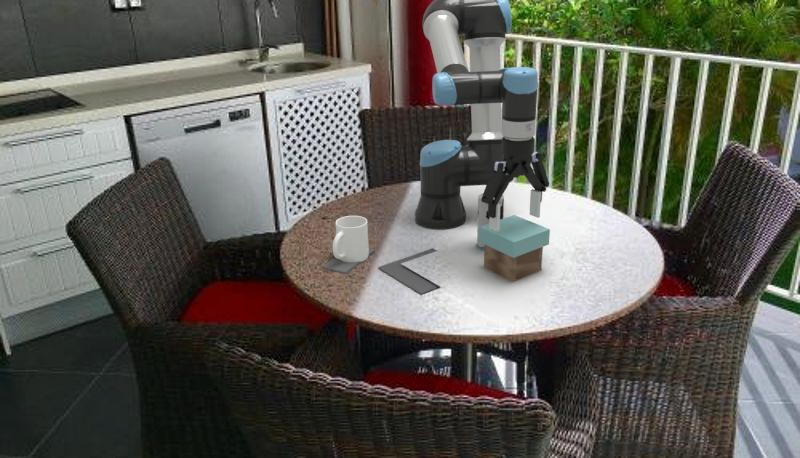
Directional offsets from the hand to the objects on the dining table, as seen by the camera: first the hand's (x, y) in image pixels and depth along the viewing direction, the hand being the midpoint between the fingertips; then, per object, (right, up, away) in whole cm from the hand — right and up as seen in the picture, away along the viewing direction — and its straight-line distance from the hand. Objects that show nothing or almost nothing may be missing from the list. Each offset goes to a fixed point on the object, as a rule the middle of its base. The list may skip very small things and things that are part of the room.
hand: (514, 222), depth 164 cm
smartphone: (-41, -10, +15) cm, 45 cm away
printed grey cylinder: (-4, -7, +19) cm, 20 cm away
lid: (0, -6, +3) cm, 7 cm away
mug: (-41, -10, +15) cm, 45 cm away
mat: (-21, -12, +8) cm, 25 cm away
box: (0, -12, +6) cm, 14 cm away
